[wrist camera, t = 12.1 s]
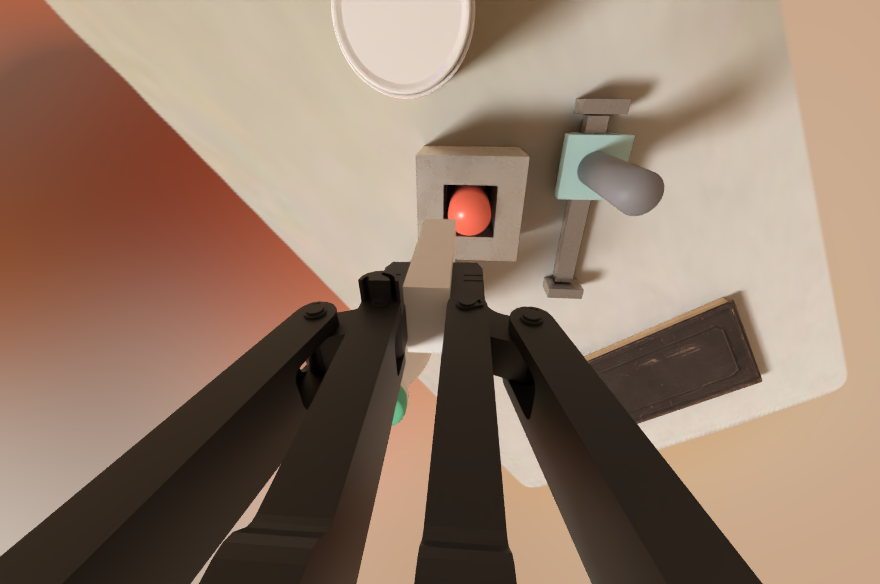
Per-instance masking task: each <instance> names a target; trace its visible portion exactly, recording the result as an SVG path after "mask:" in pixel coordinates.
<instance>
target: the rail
mask: <svg viewBox="0 0 880 584" xmlns="http://www.w3.org/2000/svg"><path fill="white" fill-rule="evenodd" d="M630 103H631V99H576V104H575V109H574V113H580V114H628V111H629V107H630ZM609 118H610V116H606V115H584V116H583V121H582V127H581V132H580V133H582V134H606V131H607V126H608V122H609ZM590 201H591V200H571V199H567V204H566V209H565V215H564V220H563V225H562V230H561V235H560V241H559V246H558V251H557V256H556V261H555V266H554V272H553V278H552V277H544V282H543V287H544V290H545V292H546V295H547V297H549V298H574V299H582V295H583V291H584V290H583V288H582V286H581V285H580V283H579V282H578V280H577V278H573V276H574V271H575V267H576V263H577V258H578V254H579V249H580V245H581V241H582V236H583V232H584V227H585V223H586V219H587V214H588V210H589V205H590Z"/></svg>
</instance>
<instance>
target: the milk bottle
mask: <svg viewBox="0 0 880 584" xmlns="http://www.w3.org/2000/svg"><path fill="white" fill-rule="evenodd" d="M430 355H431V353H419V352H408V348H407V344H406V348H405V358H406V363H405V368H404V372H403V377H402V381H401V386H400V390H399V395H398V399H397V404H396V408H395V413H394V417H393V421H392V425H395V424H397V423H398V422H400V421H401V420H402V418H403V416H404V415H405V412H406V408H407V400H408V397H409V391H408V388H409V386H410V384H411V383H412V382H413V381H414V380H415V379H416V378H417V377H418V376H419V375H420V373H421V372H422V371H423V370H424V368H425V367H426V365H427V363H428V361H429V358H430Z"/></svg>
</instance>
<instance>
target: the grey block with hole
mask: <svg viewBox="0 0 880 584" xmlns="http://www.w3.org/2000/svg"><path fill="white" fill-rule="evenodd" d="M529 159H530V157H529V156H528V155H527V154H526V153H525V152H524V151H523V150H522V149H521V148H520V147H492V146H424V147H423V148H422V149H421V150H420V151H419V152H418V153H417V154H416V185H417V219H418V239H419V236H420V233H421V230H422V227H423V224H424V221H425V219H448V215H447V185H491V186H492V192H491V204H490V209H491V219H490V222H489V224H488V226H487V227H486V228H485V229H484V230H483V231H482V232H480V233H479V234H476V235H471V236H467V235H462V234H460V233H458V232H456V238H455V260H484V261H514V262H516V259H517V252H518V244H519V236H520V228H521V221H522V213H523V205H524V197H525V190H526V182H527V174H528V166H529Z"/></svg>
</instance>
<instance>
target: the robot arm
mask: <svg viewBox="0 0 880 584" xmlns="http://www.w3.org/2000/svg"><path fill="white" fill-rule="evenodd" d="M455 238H456V220H455V219H425V221H424V224H423V227H422V230H421V233H420V236H419V239H418V242H417V245H416V248H415V251H414V254H413V257H412V260H411V262H393V263H391V264H390V265H388V266H387V267H386V268H385V270H384V271H375V272H371V273H367V274H365V275H363V276H362V277H361V278H360V279H359V280H358V281H359V288H360V294H361V301H362V302H361V304H360V306H359V308H358V309H355V310H350V311H345V312H338V313H337V309H336V307H335V306H334V305H333V304H331V303H328V302H313V303H310V304H307V305H305V306H303V307H301V308H300V309H298V310H297V311H296V312H294V313H293V314H292V315H291V316H290V317H288V318H287V319H286V320H285V321H284V322H282V323H281V324H280V325H279V326H278V327H276V328H275V329H274V330H273V331H272V332H270V333H269V334H268V335H267V336H265V337H264V338H263V339H262V340H261V341H259V342H258V343H257V344H256V345H255V346H253V347H252V348H251V349H250V350H249V351H247V352H246V353H245V354H244V355H243V356H241V357H240V358H239V359H238V360H237V361H235V362H234V363H233V364H232V365H231V366H229V367H228V368H227V369H226V370H225V371H223V372H222V373H221V374H220V375H218V376H217V377H216V378H215V379H214V380H212V381H211V382H210V383H209V384H208V385H206V386H205V387H204V388H203V389H202V390H200V391H199V392H198V393H197V394H196V395H194V396H193V397H192V398H191V399H190V400H188V401H187V402H186V403H185V404H184V405H182V406H181V407H180V408H179V409H178V410H176V411H175V412H174V413H173V414H171V415H170V416H169V417H168V418H167V419H166V420H165V421H163V422H162V423H161V424H159V425H158V426H157V427H156V428H155V429H153V430H152V431H151V432H150V433H149V434H147V435H146V436H145V437H144V438H143V439H141V440H140V441H139V442H138V443H137V444H135V445H134V446H133V447H132V448H131V449H129V450H128V451H127V452H126V453H124V454H123V455H122V456H121V457H120V458H118V459H117V460H116V461H115V462H114V463H112V464H111V465H110V466H109V467H108V468H106V469H105V470H104V471H103V472H102V473H100V474H99V475H98V476H97V477H96V478H94V479H93V480H92V481H91V482H90V483H88V484H87V485H86V486H85V487H84V488H82V489H81V490H80V491H79V492H77V493H76V494H75V495H74V496H73V497H72V498H70V499H69V500H68V501H67V502H65V503H64V504H63V505H62V506H61V507H59V508H58V509H57V510H56V511H55V512H53V513H52V514H51V515H50V516H49V517H48V518H46V519H45V520H44V521H43V522H42V523H40V524H39V525H38V526H37V527H36V528H34V529H33V530H32V531H31V532H29V533H28V534H27V535H26V536H24V537H23V538H22V539H21V540H20V541H18V542H17V543H16V544H15V545H14V546H13V547H11V548H10V549H9V550H8V551H7V552H5V553H4V554H3V555H2V556H0V584H191V582H192V581H193V580H194V578H195V577H196V575H197V574H198V573H199V572H200V570H201V569H202V568H203V566H204V565H205V564H206V562H207V561H208V560H209V558H210V557H211V556H212V554H213V553H214V552H215V550H216V549H217V548H218V546H219V545H220V544H221V542H222V541H223V540H224V539H225V537H226V536H227V535H228V533H229V532H230V531H231V529H232V528H233V527H234V525H235V524H236V523H237V521H238V520H239V519H240V517H241V516H242V515H243V513H244V512H245V511H246V509H247V508H248V507H249V505H250V504H251V503H252V501H253V500H254V499H255V498H256V496H257V495H258V493H259V492H260V491H261V490H262V488H263V487H264V486H265V484H266V483H267V482H268V480H269V479H270V478H271V476H272V475H273V474H274V472H275V471H276V470H277V468H278V467H279V466H280V467H279V469H278V472H277V473H276V476H275V478H274V480H273V482H272V484H271V486H270V488H269V490H268V492H267V494H266V496H265V498H264V500H263V502H262V504H261V506H260V508H259V510H258V512H257V514H256V516H255V517H254V519H253V521H252V522H251V523H250V524H249V525H248V526H247V527H245V528H243V529H240V530H237V531H235V532H233V533H232V534H231V535H230V536H229V537H228V538H227V539H226V540H225V541H224V542H223V543H222V545H221V546H220V548H219V549H218V551H217V552H216V554H215V556H214V557H213V559H212V560H211V562H210V564H209V566H208V568H207V570H206V571H205V573H204V575H203V577H202V579H201V581H200V583H199V584H356V583H357V578H358V574H359V569H360V564H361V560H362V555H363V551H364V547H365V542H366V538H367V533H368V529H369V524H370V520H371V516H372V511H373V507H374V502H375V497H376V493H377V488H378V484H379V480H380V475H381V470H382V466H383V461H384V457H385V452H386V448H387V444H388V439H389V435H390V430H391V426H392V421H393V417H394V413H395V408H396V404H397V399H398V395H399V390H400V386H401V381H402V377H403V372H404V368H405V363H406V358H405V348H406V344H407V348H408V352H419V353H442V356H441V366H440V375H439V385H438V395H437V405H436V415H435V424H434V434H433V444H432V453H431V463H430V473H429V483H428V493H427V502H426V512H425V521H424V531H423V537H422V541H421V544H420V547H419V553H418V558H417V566H416V574H415V583H414V584H517V582H516V574H515V566H514V561H513V555H512V552H511V550H510V548H509V546H508V540H507V531H506V519H505V507H504V495H503V484H502V472H501V460H500V448H499V437H498V425H497V413H496V401H495V390H494V378H493V375H496V376H499V377H502V378H503V383H504V386H505V388H506V390H507V393H508V395H509V397H510V399H511V402H512V404H513V406H514V408H515V411H516V413H517V415H518V417H519V420H520V422H521V424H522V427H523V429H524V431H525V433H526V436H527V438H528V440H529V442H530V445H531V447H532V449H533V451H534V454H535V456H536V458H537V461H538V463H539V465H540V467H541V470H542V472H543V474H544V476H545V479H546V481H547V483H548V485H549V487H550V490H551V492H552V495H553V497H554V499H555V501H556V504H557V506H558V508H559V510H560V513H561V515H562V517H563V519H564V522H565V524H566V526H567V528H568V531H569V533H570V535H571V538H572V540H573V542H574V544H575V547H576V549H577V551H578V553H579V556H580V558H581V560H582V562H583V565H584V567H585V569H586V572H587V574H588V576H589V578H590V581H591V583H592V584H762V583H761V581H760V580H759V579H758V578H757V576H756V575H755V574H754V572H753V571H752V570H751V569H750V567H749V566H748V565H747V563H746V562H745V561H744V560H743V558H742V557H741V556H740V554H739V553H738V552H737V551H736V549H735V548H734V547H733V546H732V544H731V543H730V542H729V540H728V539H727V538H726V537H725V536H724V534H723V533H722V532H721V530H720V529H719V528H718V527H717V525H716V524H715V523H714V521H713V520H712V519H711V518H710V516H709V515H708V514H707V513H706V511H705V510H704V509H703V508H702V506H701V505H700V504H699V502H698V501H697V500H696V499H695V497H694V496H693V495H692V493H691V492H690V491H689V490H688V488H687V487H686V486H685V485H684V484H683V482H682V481H681V480H680V478H679V477H678V476H677V474H676V473H675V472H674V471H673V470H672V468H671V467H670V466H669V464H668V463H667V462H666V460H665V459H664V458H663V457H662V455H661V454H660V453H659V452H658V450H657V449H656V448H655V446H654V445H653V444H652V443H651V441H650V440H649V439H648V438H647V436H646V435H645V434H644V432H643V431H642V430H641V429H640V427H639V426H638V425H637V424H636V422H635V421H634V420H633V419H632V417H631V416H630V415H629V413H628V412H627V411H626V410H625V408H624V407H623V406H622V405H621V403H620V402H619V401H618V399H617V398H616V397H615V396H614V394H613V393H612V392H611V391H610V389H609V388H608V387H607V385H606V384H605V383H604V382H603V380H602V379H601V378H600V377H599V375H598V374H597V373H596V372H595V370H594V369H593V368H592V366H591V365H590V364H589V363H588V361H587V360H586V359H585V358H584V356H583V355H582V354H581V352H580V351H579V350H578V349H577V347H576V346H575V345H574V344H573V342H572V341H571V340H570V338H569V337H568V336H567V335H566V333H565V332H564V331H563V330H562V328H561V327H560V326H559V325H558V323H557V322H556V321H555V319H554V318H553V317H552V316H551V315H550V314H549V313H548V312H546V311H544V310H542V309H539V308H536V307H520V308H516V309H515V310H513V311H512V312H511V314H510V316H508V315H503V314H500V313H497V312H495V311H493V310H491V309H490V308H489V307H488V306H487V303H486V301H485V296H484V283H483V271H482V268H481V267H480V266H479V265H478V264H477V263H458V262H455ZM305 361H306V363H307V365H306V366H305V367H304V368H303V369H302V370H300V367H301V365H302V364H303V363H304V362H305ZM280 464H281V465H280Z"/></svg>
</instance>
